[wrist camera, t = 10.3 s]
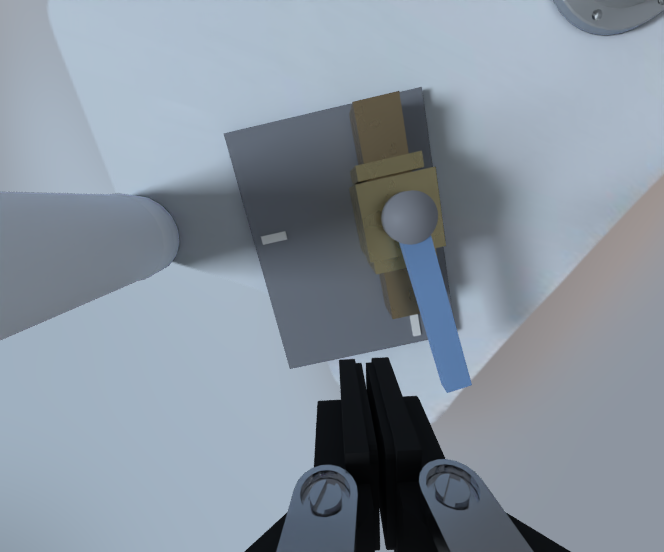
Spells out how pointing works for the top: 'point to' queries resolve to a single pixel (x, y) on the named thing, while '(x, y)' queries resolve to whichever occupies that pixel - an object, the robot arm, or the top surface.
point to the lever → (427, 280)
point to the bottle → (75, 251)
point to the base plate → (320, 233)
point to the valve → (387, 193)
